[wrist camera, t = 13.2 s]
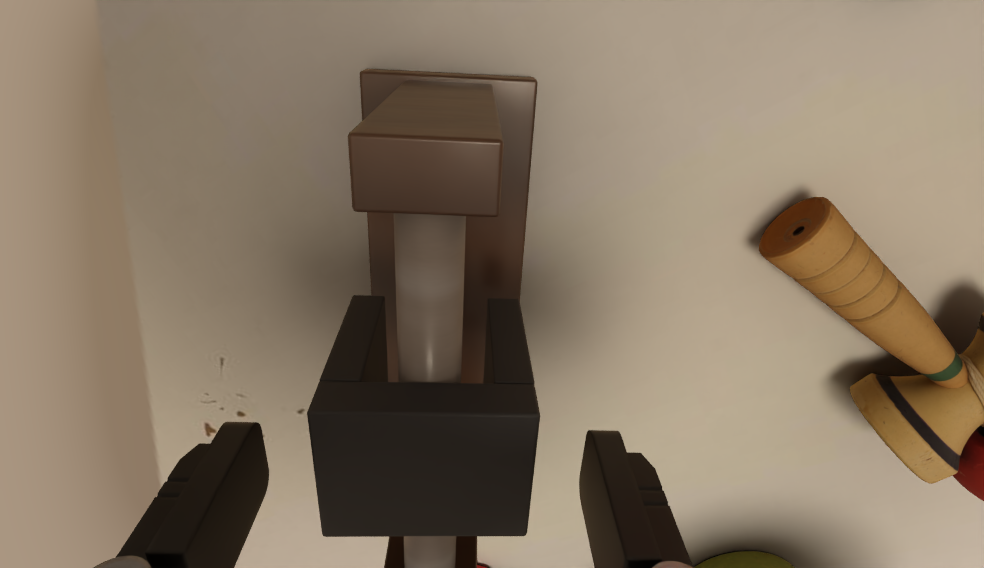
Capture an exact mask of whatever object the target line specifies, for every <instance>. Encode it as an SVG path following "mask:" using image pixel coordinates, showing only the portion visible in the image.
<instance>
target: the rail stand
mask: <svg viewBox="0 0 984 568" xmlns="http://www.w3.org/2000/svg"><path fill="white" fill-rule="evenodd" d="M360 87H361V106H362V122H361V123H360V124H359V125H357V126H356V127H355V128H354V129H353V130H352V131H351V132H350V133H349V135H348V146H349V161H350V176H351V191H352V207H353V209H354V211H357V212H367V218H368V237H369V255H370V274H371V293H372V296H384V297H385V314H386V338H387V362H388V382H417V383H483V378H484V359H485V340H486V321H487V302H488V298H498V299H519V302H520V290H521V278H522V266H523V253H524V241H525V229H526V217H527V204H528V192H529V180H530V168H531V155H532V143H533V131H534V118H535V106H536V94H537V80H536V79H535V78H533V77H520V76H500V75H480V74H460V73H441V72H421V71H401V70H382V69H365V70H363V71H361V72H360ZM384 568H477V536H389V542H388V548H387V554H386V560H385V566H384Z"/></svg>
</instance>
